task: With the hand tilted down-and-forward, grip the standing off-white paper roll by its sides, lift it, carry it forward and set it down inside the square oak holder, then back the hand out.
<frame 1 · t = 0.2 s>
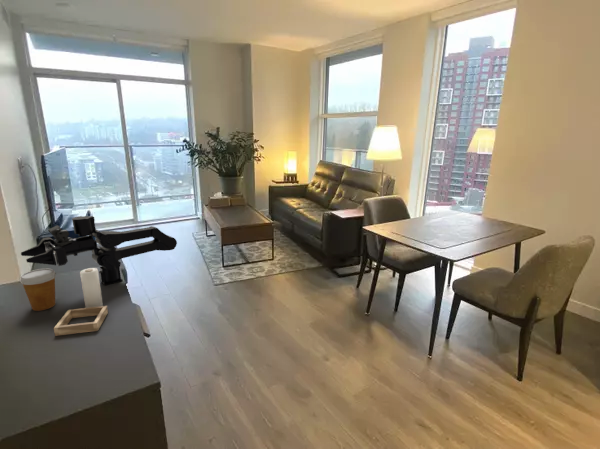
hand: (23, 257, 111), 17 cm above the cabinet, tool horizontal, fingers open, 9 cm apart
oak holder: (83, 323, 102), on the cabinet
paper roll: (94, 306, 113), on the cabinet
disposable coffee cup: (44, 306, 113), on the cabinet
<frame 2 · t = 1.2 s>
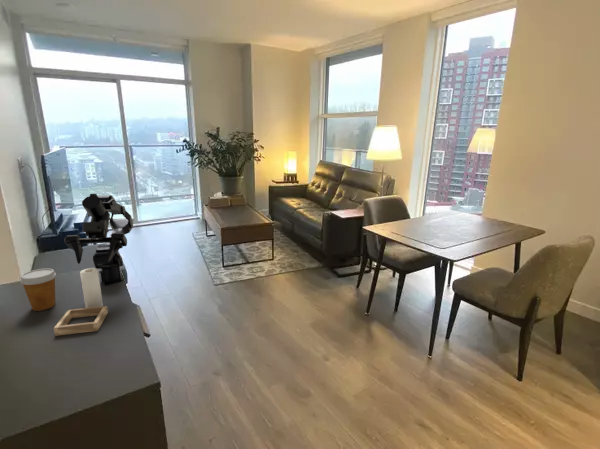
hand: (93, 262, 115), 14 cm above the cabinet, tool tilted 45°, fingers open, 9 cm apart
nothing on the cabinet moved.
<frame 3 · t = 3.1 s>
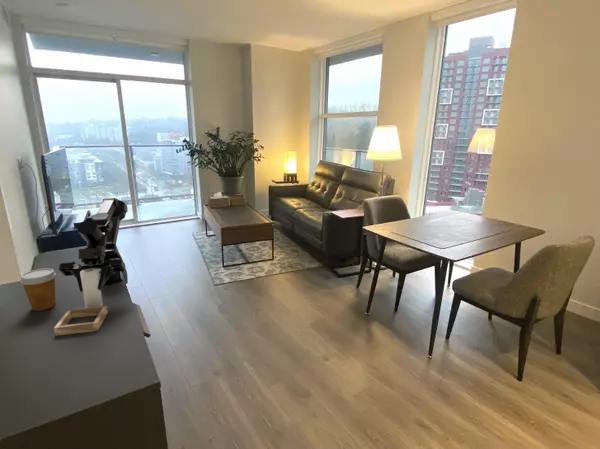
hand: (90, 290, 110), 7 cm above the cabinet, tool tilted 45°, fingers closed on paper roll, 5 cm apart
paper roll: (94, 306, 113), on the cabinet, touching gripper
everything else where it was.
when the fingers open (8 cm above the cabinet, at t = 6.4 s): paper roll drops 1 cm, resting in oak holder.
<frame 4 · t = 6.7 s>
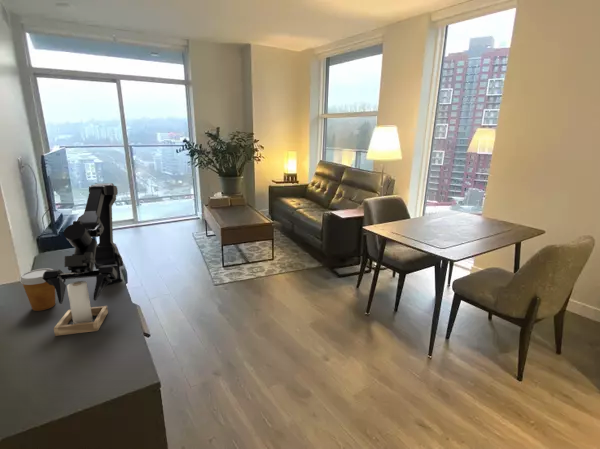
hand: (77, 301, 99), 8 cm above the cabinet, tool tilted 45°, fingers open, 9 cm apart
paper roll: (83, 323, 102), resting in oak holder
everything else where it was.
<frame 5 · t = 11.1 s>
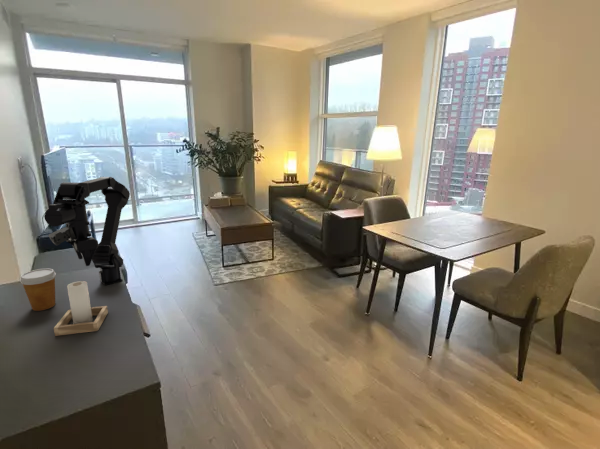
hand: (84, 262, 117), 13 cm above the cabinet, tool pointing down, fingers open, 9 cm apart
nothing on the cabinet moved.
at the end: paper roll 0.1 cm from the oak holder (horizontally); paper roll tilted 0°; the gripper is holding nothing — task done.
